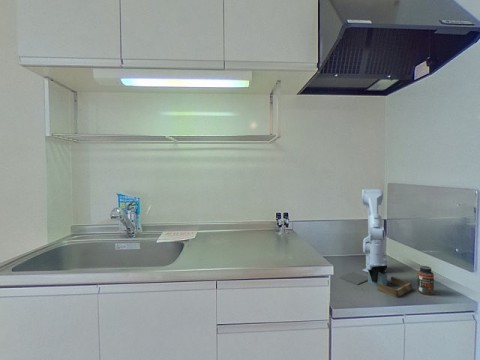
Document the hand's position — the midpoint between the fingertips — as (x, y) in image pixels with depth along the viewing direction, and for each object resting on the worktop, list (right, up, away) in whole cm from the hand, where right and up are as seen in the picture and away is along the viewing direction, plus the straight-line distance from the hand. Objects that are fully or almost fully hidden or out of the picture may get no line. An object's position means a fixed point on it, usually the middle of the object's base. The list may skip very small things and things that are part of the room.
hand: (377, 280), depth 128 cm
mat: (-8, -1, +6) cm, 10 cm away
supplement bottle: (+16, -2, -10) cm, 19 cm away
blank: (0, -1, 0) cm, 1 cm away
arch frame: (+4, -2, -6) cm, 8 cm away
